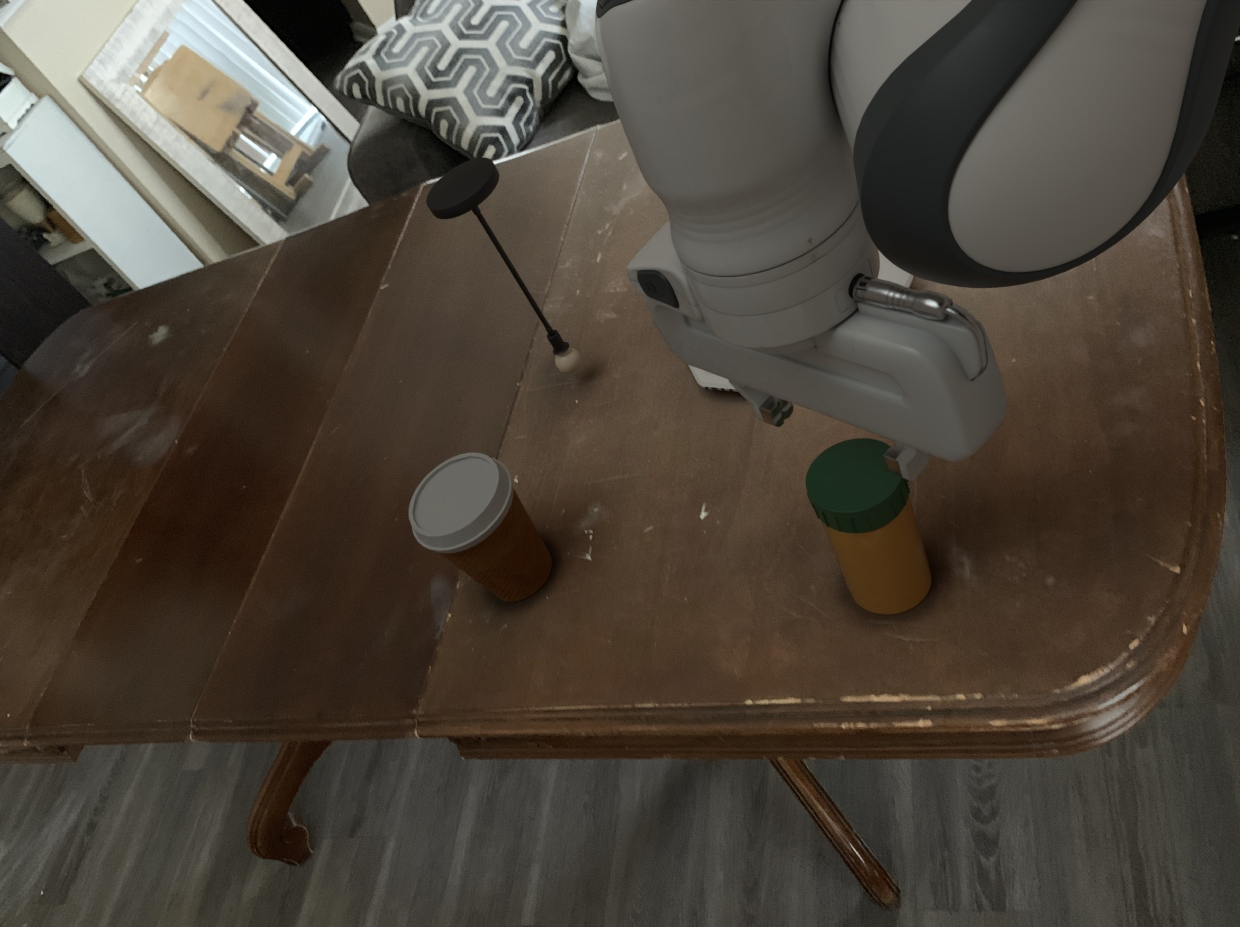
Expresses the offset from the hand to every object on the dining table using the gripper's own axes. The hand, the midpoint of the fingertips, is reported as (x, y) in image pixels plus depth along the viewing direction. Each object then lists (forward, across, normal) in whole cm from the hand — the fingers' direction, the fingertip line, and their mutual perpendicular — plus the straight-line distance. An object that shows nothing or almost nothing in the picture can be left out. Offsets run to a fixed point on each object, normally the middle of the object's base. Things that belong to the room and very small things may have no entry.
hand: (839, 441), depth 53 cm
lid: (+4, 0, 0) cm, 4 cm away
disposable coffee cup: (+16, +28, +15) cm, 35 cm away
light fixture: (+16, +40, -5) cm, 43 cm away
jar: (+16, 0, 0) cm, 16 cm away
